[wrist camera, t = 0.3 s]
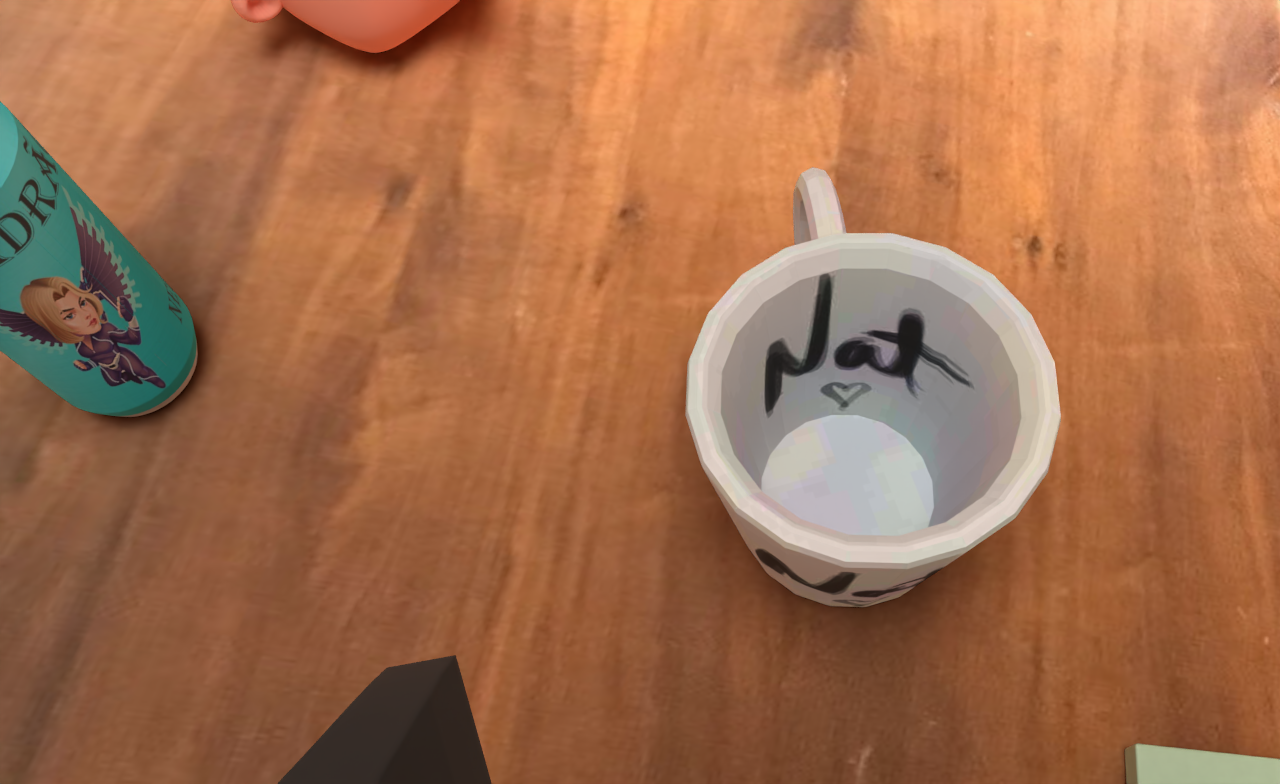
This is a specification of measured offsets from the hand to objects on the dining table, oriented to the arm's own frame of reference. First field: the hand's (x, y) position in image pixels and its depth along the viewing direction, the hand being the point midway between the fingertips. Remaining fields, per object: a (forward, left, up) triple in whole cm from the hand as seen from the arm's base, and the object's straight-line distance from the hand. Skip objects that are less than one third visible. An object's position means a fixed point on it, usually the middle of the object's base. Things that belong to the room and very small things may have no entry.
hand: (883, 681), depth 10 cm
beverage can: (+20, +24, -29) cm, 42 cm away
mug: (+14, -3, -29) cm, 32 cm away
